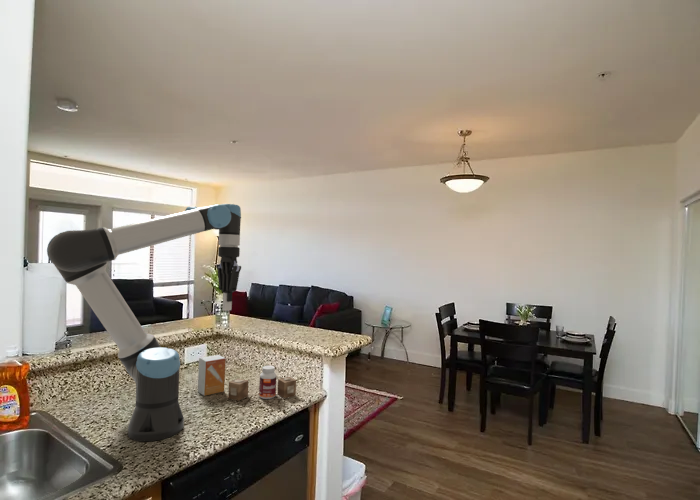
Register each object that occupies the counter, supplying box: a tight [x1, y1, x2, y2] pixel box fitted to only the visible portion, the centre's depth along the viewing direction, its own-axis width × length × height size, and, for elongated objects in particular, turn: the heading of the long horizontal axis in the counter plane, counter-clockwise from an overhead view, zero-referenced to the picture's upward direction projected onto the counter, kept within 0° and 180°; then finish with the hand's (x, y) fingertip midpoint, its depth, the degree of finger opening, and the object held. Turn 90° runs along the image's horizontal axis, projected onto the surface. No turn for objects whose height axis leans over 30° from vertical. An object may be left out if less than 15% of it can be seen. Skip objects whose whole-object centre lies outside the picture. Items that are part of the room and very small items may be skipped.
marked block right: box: [277, 376, 297, 399], centre depth 150 cm, size 5×5×6 cm
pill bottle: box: [258, 365, 277, 400], centre depth 148 cm, size 6×6×11 cm
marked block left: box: [227, 377, 249, 402], centre depth 146 cm, size 5×5×6 cm
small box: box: [197, 354, 226, 397], centre depth 151 cm, size 8×6×13 cm
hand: (227, 310), depth 145 cm, fingers closed
